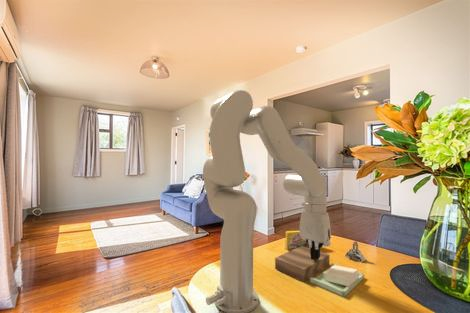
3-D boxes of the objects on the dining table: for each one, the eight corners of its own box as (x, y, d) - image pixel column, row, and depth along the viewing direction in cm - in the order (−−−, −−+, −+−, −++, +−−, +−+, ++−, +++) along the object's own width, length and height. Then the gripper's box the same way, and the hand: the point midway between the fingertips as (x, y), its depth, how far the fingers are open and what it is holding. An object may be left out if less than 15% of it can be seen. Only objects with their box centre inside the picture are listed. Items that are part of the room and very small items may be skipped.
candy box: (287, 251, 101) (287, 232, 101) (285, 249, 103) (285, 231, 103) (319, 248, 105) (319, 230, 105) (316, 246, 107) (316, 228, 107)
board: (304, 281, 75) (304, 269, 75) (275, 268, 84) (275, 257, 84) (329, 265, 87) (329, 254, 87) (301, 255, 96) (301, 245, 96)
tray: (344, 297, 66) (344, 292, 67) (309, 282, 75) (309, 277, 75) (364, 278, 77) (364, 274, 77) (332, 267, 85) (332, 263, 85)
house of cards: (333, 258, 94) (333, 239, 94) (347, 254, 98) (347, 236, 98) (353, 267, 86) (353, 247, 86) (367, 263, 90) (367, 243, 90)
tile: (323, 272, 76) (324, 280, 75) (347, 277, 70) (349, 286, 69) (333, 265, 81) (335, 272, 81) (357, 269, 75) (358, 277, 75)
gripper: (291, 206, 85) (291, 255, 85) (330, 213, 74) (330, 269, 74) (302, 203, 90) (302, 250, 90) (340, 209, 79) (340, 262, 79)
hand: (315, 258), depth 82 cm, fingers closed
